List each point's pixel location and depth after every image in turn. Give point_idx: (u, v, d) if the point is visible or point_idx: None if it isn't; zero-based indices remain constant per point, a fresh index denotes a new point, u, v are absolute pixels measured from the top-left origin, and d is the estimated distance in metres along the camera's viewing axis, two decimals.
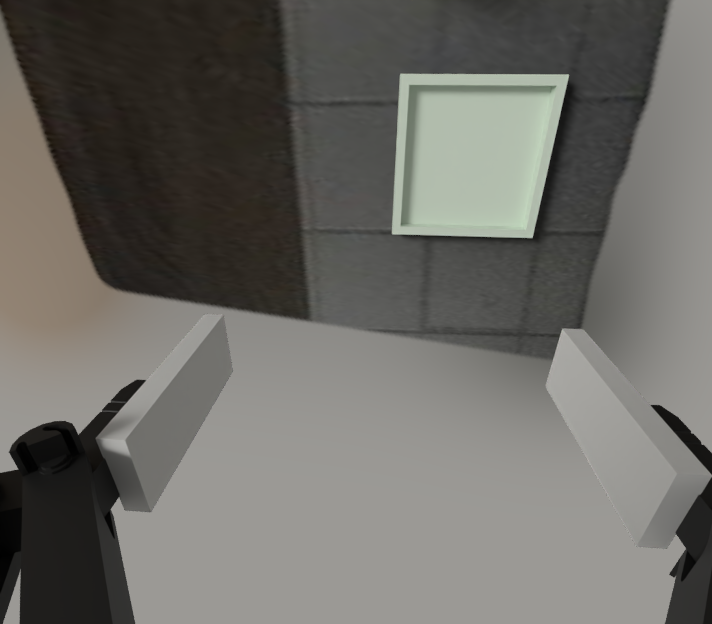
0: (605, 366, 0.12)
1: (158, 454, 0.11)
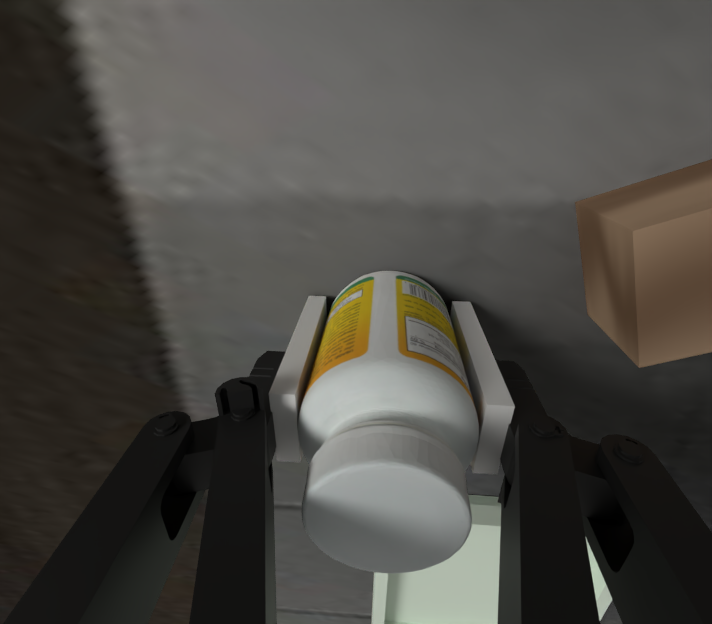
0: (473, 329, 0.14)
1: None
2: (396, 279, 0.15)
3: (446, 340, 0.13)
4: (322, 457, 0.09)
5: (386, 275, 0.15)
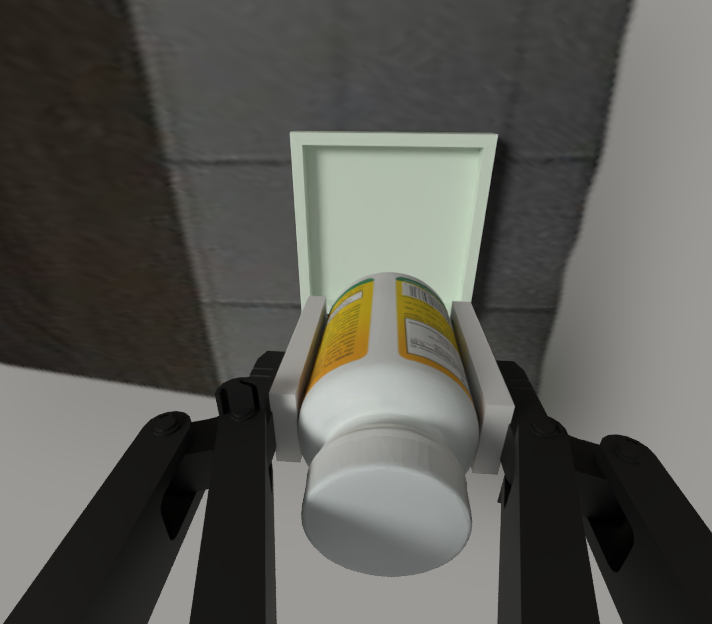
0: (473, 329, 0.14)
1: None
2: (396, 281, 0.15)
3: (446, 342, 0.13)
4: (322, 460, 0.09)
5: (386, 277, 0.15)
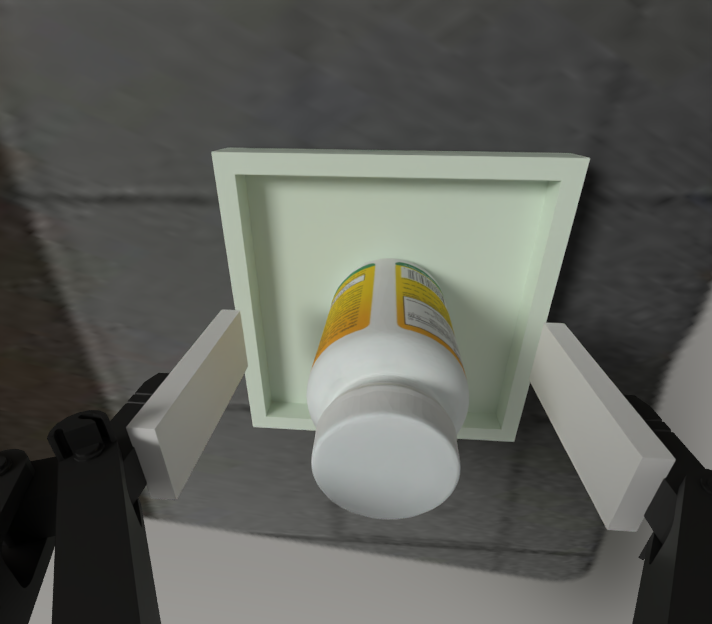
0: (582, 358, 0.13)
1: (183, 444, 0.11)
2: (395, 265, 0.16)
3: (440, 318, 0.14)
4: (329, 413, 0.11)
5: (387, 262, 0.17)
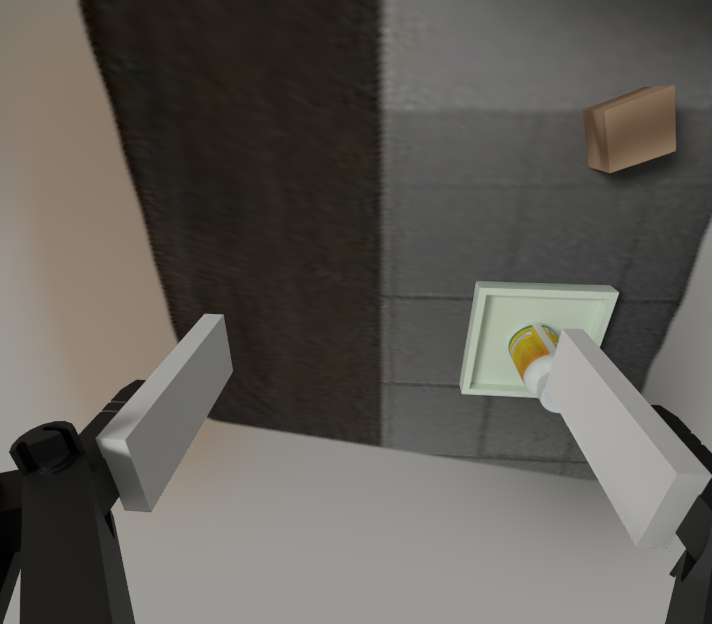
0: (605, 366, 0.12)
1: (158, 454, 0.11)
2: (542, 327, 0.42)
3: None
4: None
5: (537, 325, 0.43)
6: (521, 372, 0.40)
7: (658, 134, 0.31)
